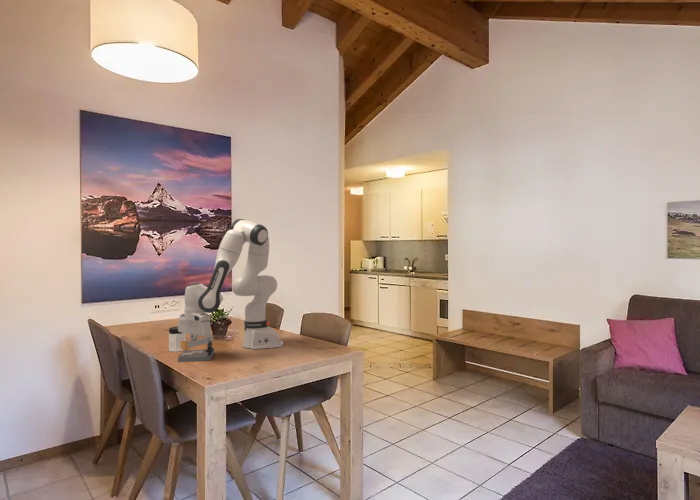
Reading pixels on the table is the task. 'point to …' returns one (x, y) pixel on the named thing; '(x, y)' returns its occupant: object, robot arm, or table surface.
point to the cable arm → (196, 342)
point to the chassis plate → (197, 354)
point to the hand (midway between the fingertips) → (193, 342)
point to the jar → (176, 339)
